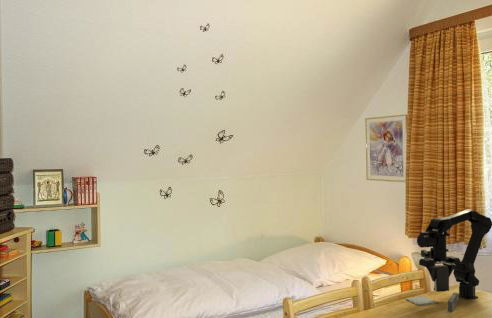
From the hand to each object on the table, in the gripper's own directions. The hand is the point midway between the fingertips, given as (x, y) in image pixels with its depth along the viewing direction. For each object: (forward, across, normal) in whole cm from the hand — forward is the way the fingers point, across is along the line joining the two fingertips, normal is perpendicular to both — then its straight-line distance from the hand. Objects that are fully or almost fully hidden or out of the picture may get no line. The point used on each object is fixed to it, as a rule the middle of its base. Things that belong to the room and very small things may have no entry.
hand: (440, 280), depth 191 cm
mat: (+9, +9, -2) cm, 13 cm away
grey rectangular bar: (+9, +2, +9) cm, 13 cm away
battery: (+5, 0, 0) cm, 5 cm away
